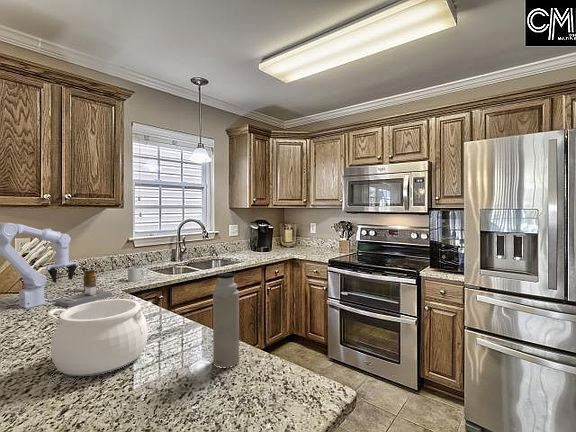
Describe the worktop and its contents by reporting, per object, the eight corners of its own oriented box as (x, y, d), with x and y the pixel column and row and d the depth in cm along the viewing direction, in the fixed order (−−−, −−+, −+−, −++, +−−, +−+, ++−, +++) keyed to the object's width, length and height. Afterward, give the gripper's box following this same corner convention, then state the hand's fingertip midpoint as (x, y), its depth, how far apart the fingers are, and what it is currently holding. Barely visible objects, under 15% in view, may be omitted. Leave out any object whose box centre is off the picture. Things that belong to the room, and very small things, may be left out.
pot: (27, 390, 84) (26, 326, 84) (66, 348, 110) (65, 298, 109) (145, 374, 92) (145, 316, 92) (156, 338, 118) (156, 292, 117)
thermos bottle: (208, 363, 99) (207, 274, 98) (228, 354, 105) (227, 270, 104) (224, 371, 94) (224, 277, 93) (244, 361, 100) (244, 273, 99)
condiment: (95, 288, 190) (95, 268, 190) (98, 291, 184) (97, 271, 183) (81, 290, 186) (81, 270, 185) (83, 293, 179) (83, 272, 179)
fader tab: (90, 295, 167) (90, 286, 166) (84, 294, 169) (84, 285, 169) (96, 293, 169) (96, 285, 169) (90, 292, 172) (90, 284, 172)
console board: (68, 307, 154) (68, 303, 154) (55, 304, 160) (55, 299, 160) (111, 296, 174) (111, 292, 173) (98, 293, 179) (98, 289, 179)
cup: (126, 280, 210) (126, 267, 210) (142, 278, 217) (142, 265, 216) (129, 282, 205) (129, 269, 204) (146, 280, 211) (145, 267, 211)
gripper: (50, 258, 161) (51, 284, 162) (80, 254, 174) (81, 278, 175) (43, 257, 165) (44, 282, 165) (73, 253, 178) (74, 277, 178)
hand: (62, 280), depth 170 cm, fingers open, 7 cm apart
